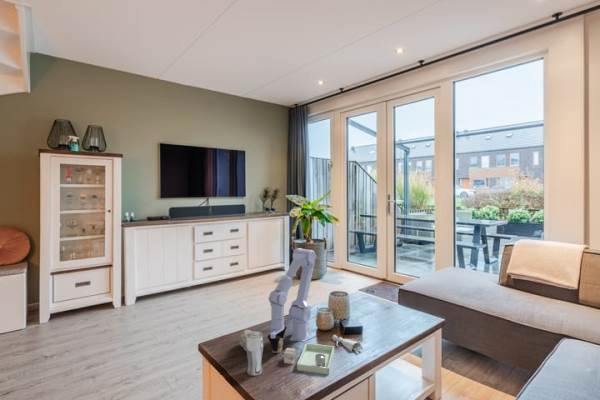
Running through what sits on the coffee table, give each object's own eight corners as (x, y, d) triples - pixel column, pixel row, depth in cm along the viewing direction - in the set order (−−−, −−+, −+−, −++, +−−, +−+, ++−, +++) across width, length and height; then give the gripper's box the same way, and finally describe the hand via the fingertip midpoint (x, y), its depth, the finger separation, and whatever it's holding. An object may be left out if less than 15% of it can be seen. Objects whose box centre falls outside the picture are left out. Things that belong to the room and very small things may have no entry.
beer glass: (255, 364, 131) (255, 329, 130) (267, 370, 126) (267, 334, 126) (242, 372, 125) (242, 335, 125) (254, 378, 121) (254, 340, 120)
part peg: (316, 365, 130) (316, 353, 130) (325, 366, 129) (325, 354, 129) (314, 370, 126) (314, 358, 126) (324, 371, 125) (324, 359, 125)
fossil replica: (256, 340, 152) (236, 347, 147) (254, 323, 152) (234, 329, 147) (265, 350, 141) (244, 357, 137) (263, 331, 141) (242, 338, 137)
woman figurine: (351, 348, 136) (324, 335, 151) (351, 358, 136) (324, 345, 151) (369, 340, 143) (341, 329, 158) (369, 350, 143) (341, 338, 158)
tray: (306, 349, 143) (306, 342, 143) (334, 352, 140) (334, 346, 140) (296, 371, 126) (296, 364, 126) (328, 376, 123) (328, 368, 123)
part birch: (286, 359, 135) (286, 347, 135) (295, 360, 134) (295, 349, 134) (284, 364, 131) (284, 352, 131) (293, 365, 130) (293, 353, 130)
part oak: (274, 348, 145) (274, 337, 145) (283, 349, 144) (283, 338, 144) (272, 352, 141) (272, 341, 141) (280, 353, 140) (280, 342, 140)
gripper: (274, 310, 150) (274, 338, 150) (263, 322, 136) (263, 353, 136) (288, 312, 148) (288, 340, 149) (279, 324, 134) (279, 355, 135)
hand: (277, 346), depth 142 cm, fingers open, 7 cm apart
